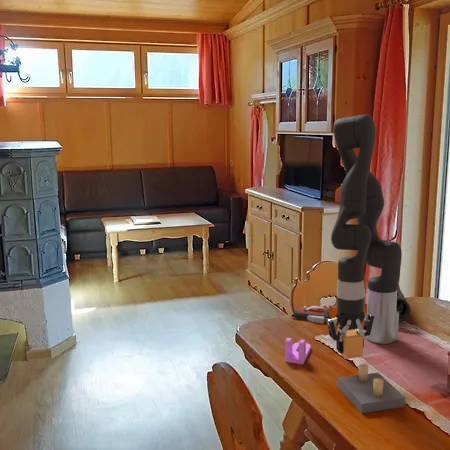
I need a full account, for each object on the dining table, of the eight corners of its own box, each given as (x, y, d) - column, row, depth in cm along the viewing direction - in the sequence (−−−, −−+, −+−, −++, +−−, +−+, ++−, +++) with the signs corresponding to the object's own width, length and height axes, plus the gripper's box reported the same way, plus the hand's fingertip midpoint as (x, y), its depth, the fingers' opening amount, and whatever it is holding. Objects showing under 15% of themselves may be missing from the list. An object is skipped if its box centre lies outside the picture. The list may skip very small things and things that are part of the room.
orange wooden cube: (354, 348, 154) (354, 329, 153) (362, 356, 150) (363, 336, 148) (337, 351, 153) (337, 331, 152) (345, 359, 148) (345, 339, 147)
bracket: (303, 364, 158) (303, 343, 157) (284, 362, 160) (284, 340, 159) (312, 347, 170) (312, 326, 169) (295, 345, 172) (295, 325, 171)
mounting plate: (377, 380, 147) (378, 359, 146) (405, 406, 134) (406, 382, 132) (337, 386, 145) (338, 364, 143) (361, 413, 131) (362, 389, 130)
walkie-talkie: (290, 321, 193) (346, 326, 187) (290, 310, 192) (346, 315, 186) (294, 313, 201) (348, 317, 195) (294, 302, 200) (348, 306, 194)
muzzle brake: (382, 325, 187) (383, 297, 185) (372, 299, 214) (373, 274, 212) (410, 326, 185) (411, 298, 183) (397, 299, 212) (398, 274, 210)
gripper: (367, 287, 153) (366, 342, 156) (321, 293, 150) (321, 349, 153) (380, 295, 146) (379, 353, 149) (332, 301, 143) (332, 360, 146)
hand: (349, 350), depth 151 cm, fingers closed on orange wooden cube, 5 cm apart
